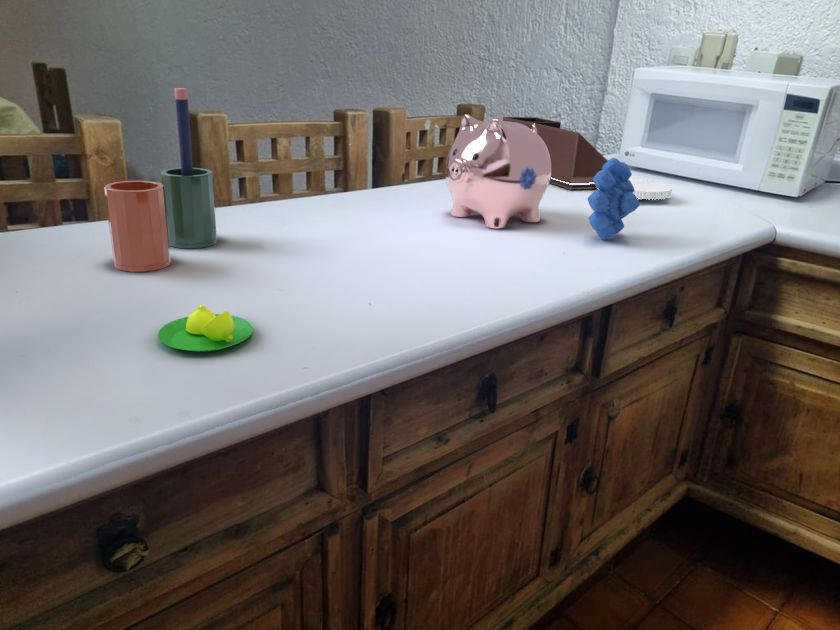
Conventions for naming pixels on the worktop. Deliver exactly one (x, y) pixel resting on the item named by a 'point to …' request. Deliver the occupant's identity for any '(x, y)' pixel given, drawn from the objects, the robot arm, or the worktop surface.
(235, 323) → the lemons on green plate
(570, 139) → the desk organizer
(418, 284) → the worktop surface
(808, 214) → the worktop surface
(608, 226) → the blue lumpy block
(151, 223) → the terracotta cup
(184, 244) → the green cup
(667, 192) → the plastic lid
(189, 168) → the pencil
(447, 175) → the piggy bank
